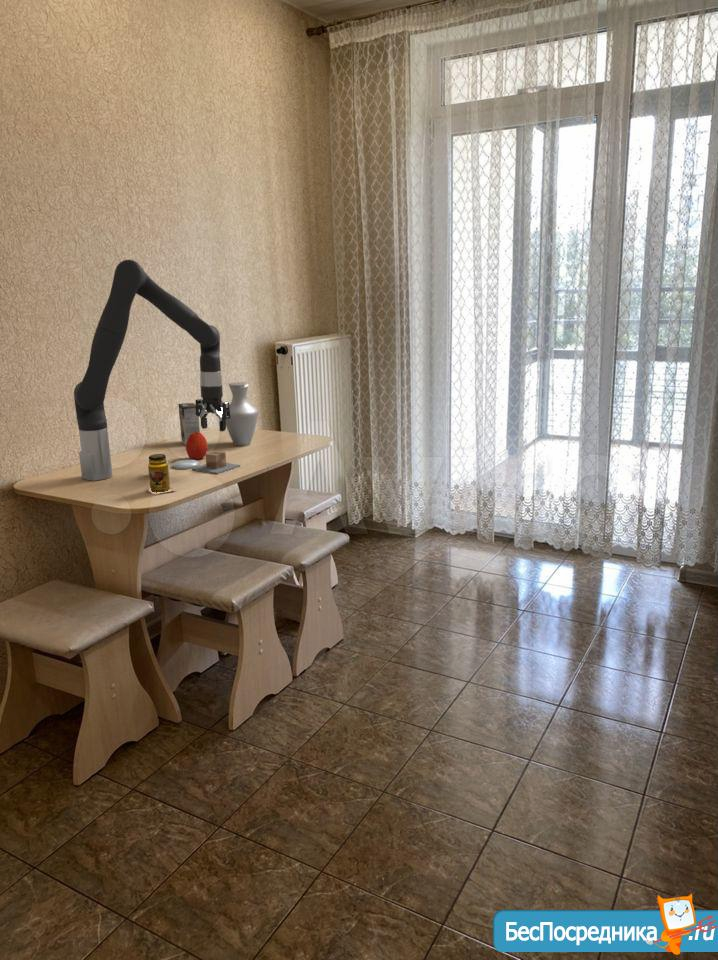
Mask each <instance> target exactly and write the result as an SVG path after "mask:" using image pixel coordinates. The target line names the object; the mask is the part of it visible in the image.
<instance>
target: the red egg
mask: <svg viewBox="0 0 718 960" xmlns="http://www.w3.org/2000/svg"><path fill="white" fill-rule="evenodd" d="M208 447H209V444H208V441H207V439H206V438H205V436H204V434H202V432H201V431H200V432H195V433H191V434H190V436H189V438H188V440H187V443H186V445H185V450H186V453H187V456H188V457H189V458H190V460H199V459H200V460H201V459H203V458H206V454H207V453H208V451H209V448H208Z"/></svg>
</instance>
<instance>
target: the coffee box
mask: <svg viewBox="0 0 718 960" xmlns="http://www.w3.org/2000/svg"><path fill="white" fill-rule="evenodd" d="M178 414H179V425H180V438H181V443H182V444H183V445H185V446H186V443H187V440H188V438H189V436H190V434H191V433H195V432H200V433H201V431H200V417H199V416H196V403H194V402H186V403H178Z"/></svg>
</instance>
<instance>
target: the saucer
mask: <svg viewBox="0 0 718 960" xmlns="http://www.w3.org/2000/svg"><path fill="white" fill-rule="evenodd" d="M199 463H200V462H199V460H198V459H196V460H193V459H180V460H176V461H174V462H173V468H174V469H177V470H189V469H190V468H191V469H192V468H195V467H198V466H200V464H199Z"/></svg>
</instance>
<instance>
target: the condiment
mask: <svg viewBox="0 0 718 960" xmlns="http://www.w3.org/2000/svg"><path fill="white" fill-rule="evenodd" d="M166 460H167V456H166V454H164V453H155V454H150V455H149V456H148V463H150V464H149V465H147V466H148V477H149V479H148V480H149V486H150V488H151V491H152V492H156V493H157V492H165V491H168V490H169V489H170V488H171V486H170V477H169V476H170V472H169V473H168V464H169V463H168V464H167V463H166ZM150 488H149V489H150Z"/></svg>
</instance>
